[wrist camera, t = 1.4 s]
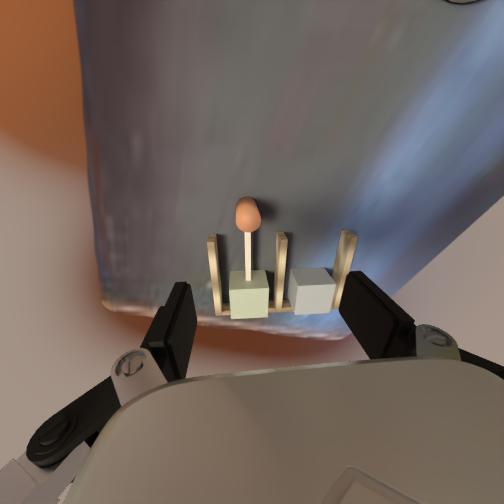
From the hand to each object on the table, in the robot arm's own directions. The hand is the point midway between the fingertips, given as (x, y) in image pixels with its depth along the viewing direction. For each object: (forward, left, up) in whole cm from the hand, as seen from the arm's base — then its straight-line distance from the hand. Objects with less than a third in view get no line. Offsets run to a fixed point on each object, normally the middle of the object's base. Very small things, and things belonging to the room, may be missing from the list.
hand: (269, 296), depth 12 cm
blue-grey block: (+14, +10, -20) cm, 26 cm away
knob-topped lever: (+7, 0, -19) cm, 21 cm away
